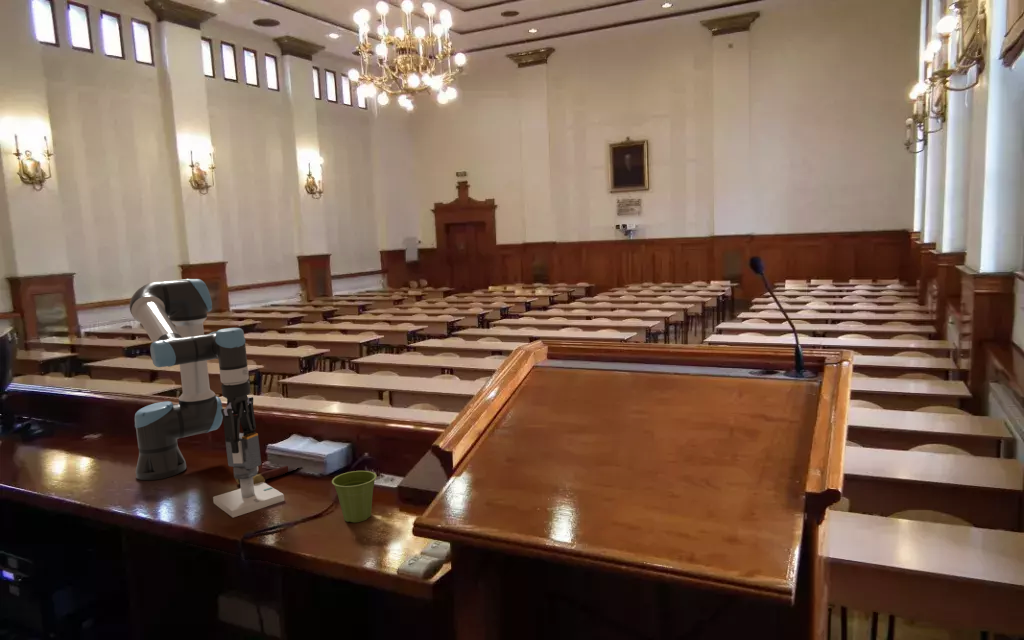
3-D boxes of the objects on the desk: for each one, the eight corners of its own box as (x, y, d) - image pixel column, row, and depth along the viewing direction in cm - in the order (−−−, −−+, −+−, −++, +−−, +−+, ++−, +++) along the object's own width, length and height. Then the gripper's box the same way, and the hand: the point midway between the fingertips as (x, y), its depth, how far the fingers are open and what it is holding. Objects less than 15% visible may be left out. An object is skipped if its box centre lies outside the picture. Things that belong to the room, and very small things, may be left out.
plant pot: (388, 515, 180) (385, 475, 178) (352, 531, 171) (348, 490, 170) (362, 504, 188) (359, 467, 186) (326, 519, 179) (323, 480, 178)
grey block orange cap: (226, 477, 192) (221, 435, 190) (243, 469, 198) (239, 429, 196) (248, 480, 188) (243, 438, 186) (265, 473, 194) (261, 431, 192)
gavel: (293, 456, 224) (310, 461, 218) (293, 469, 225) (310, 474, 218) (234, 471, 208) (251, 477, 202) (235, 485, 208) (251, 492, 202)
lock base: (213, 503, 194) (210, 477, 193) (263, 487, 205) (260, 463, 203) (232, 517, 184) (229, 490, 182) (284, 500, 194) (281, 474, 193)
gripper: (230, 389, 180) (239, 470, 183) (263, 374, 198) (271, 448, 201) (204, 390, 181) (214, 470, 184) (239, 375, 199) (248, 448, 202)
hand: (243, 459), depth 192 cm, fingers closed on grey block orange cap, 5 cm apart
